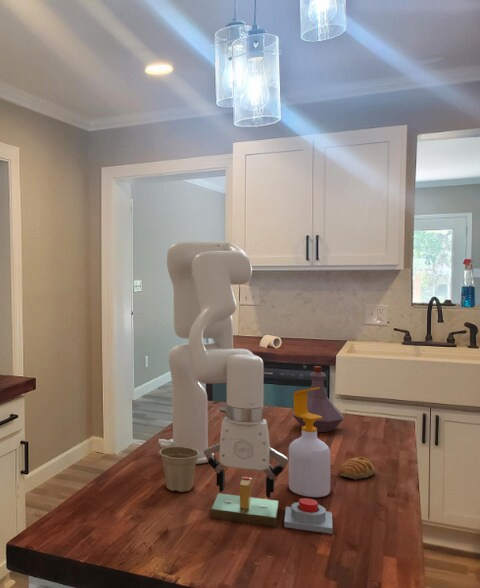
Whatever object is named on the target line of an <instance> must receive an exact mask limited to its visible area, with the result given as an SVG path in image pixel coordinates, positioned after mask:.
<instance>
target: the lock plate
mask: <svg viewBox="0 0 480 588" xmlns="http://www.w3.org/2000/svg"><path fill="white" fill-rule="evenodd" d="M279 510H280V501H279V500H276V499H269V498H259V497H252V496H251V503H250V506H249V509H245V508H240V495H235V494H228V493H220V492H218V493H217V494H216V496H215V499H214V502H213V504H212V506H211V510H210V511H211V512H210V514H211V516H210V517H211V519H217V520H225V521H231V522H238V523H246V524H252V525H259V526H267V527H273V528H276V527H277V524H278V518H279V513H280V512H279Z"/></svg>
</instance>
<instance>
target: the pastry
mask: <svg viewBox="0 0 480 588" xmlns="http://www.w3.org/2000/svg"><path fill="white" fill-rule="evenodd" d="M375 471H376V468H375V467H374V466H373V463H372V462H371V460H370V459H369V458H367V457H364V456H354V457H353V458H350V459H349V458H348V459H346V460H345V461H344V462H342V464H340V469H339V470H338V472H339V475H340V477H346V478H348V479H353V480H359V479H366V478H369V477H371V476H373V475H374V473H375Z"/></svg>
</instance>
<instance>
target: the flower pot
mask: <svg viewBox="0 0 480 588" xmlns="http://www.w3.org/2000/svg"><path fill="white" fill-rule="evenodd" d="M159 455H160V458H161V461H162V465H163V472H164V480H165V487H166V488H167V490H169V491H172V492H174V491H176V492H179V493H184V492H189V491H191V490H192V489H193V485H194V479H195V478H194V477H195V471H196V465H197V464H196V461H197V457H198V456H199V452H198V451H197V450H195V449H192V448H188V447H180V446H173V447H166V448H160V450H159Z"/></svg>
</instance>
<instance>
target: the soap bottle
mask: <svg viewBox="0 0 480 588" xmlns="http://www.w3.org/2000/svg"><path fill="white" fill-rule="evenodd" d="M315 389H320V387H317V388H311V387H310V388H305V389H299V390H298V389H297V390H296V391H294V393H293V411H294V414H295V416H297V417H300V418H303V421H304V422H305V426H303V427H302V426H301V436H300V437H298V438H295V439H294V440H293V441H292V442H290V444H289V446H288V488H289V490H290V491H291V492H292V493H294V494H296V495H299V496H302V497H305V498H323V497H326V496H328V495H330V492H331V450H330V447H329V445H327V443H325V441H323V440H321V439H319V438H318V431H317V428H316V427H313V422H316V420H317V419H322V416H319V415H316V414H312V413H309V412H308V410H307V397H308V394H309V392H310V390H315Z"/></svg>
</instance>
